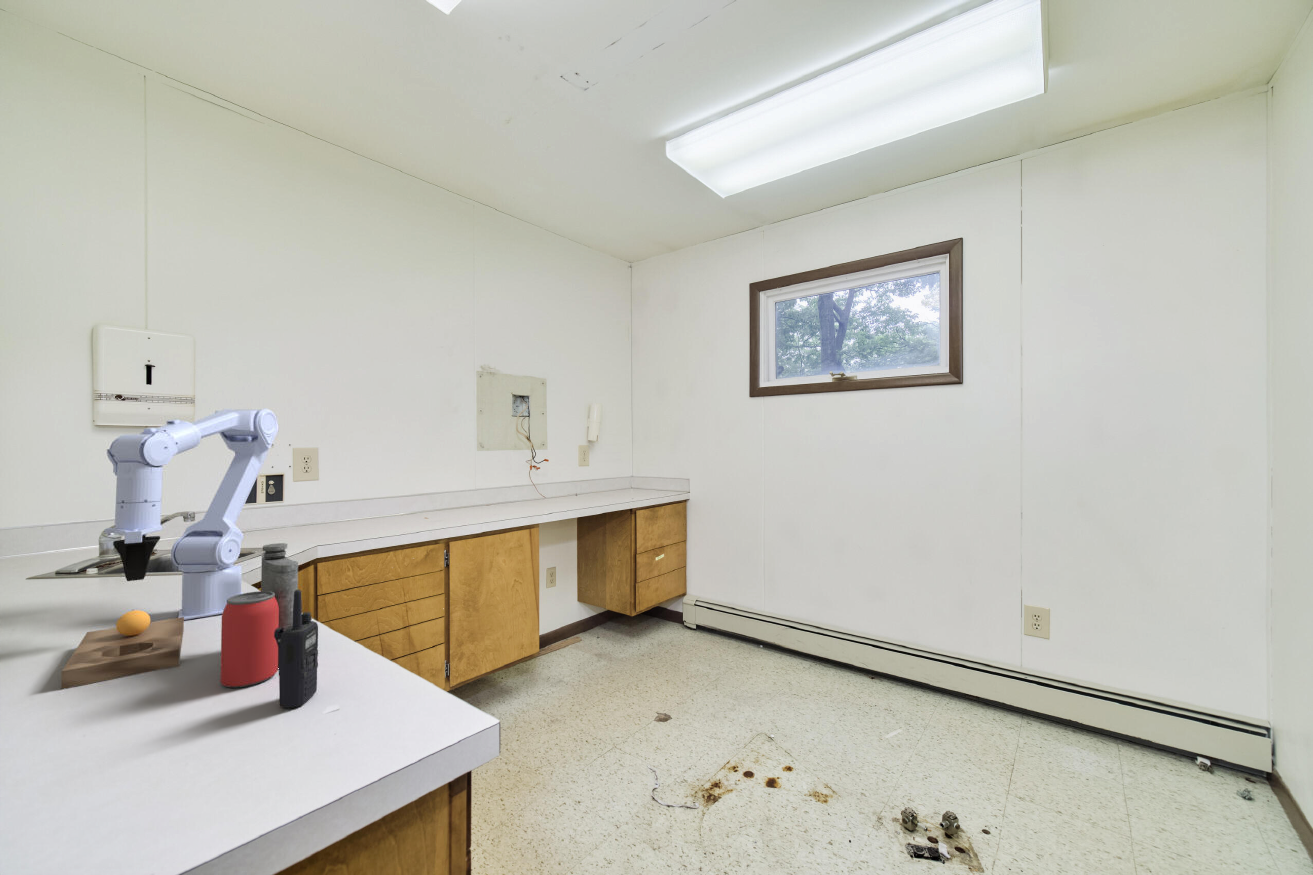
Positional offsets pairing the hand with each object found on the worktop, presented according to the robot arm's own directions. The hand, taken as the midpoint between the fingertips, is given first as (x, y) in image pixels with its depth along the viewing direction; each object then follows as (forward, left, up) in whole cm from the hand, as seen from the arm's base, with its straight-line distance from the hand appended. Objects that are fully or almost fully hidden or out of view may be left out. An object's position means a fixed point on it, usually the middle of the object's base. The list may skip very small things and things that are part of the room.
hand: (135, 579), depth 90 cm
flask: (-18, +24, -11) cm, 32 cm away
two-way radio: (-18, +45, -11) cm, 49 cm away
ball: (0, +7, -6) cm, 9 cm away
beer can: (-14, +33, -11) cm, 37 cm away
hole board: (0, +10, -10) cm, 14 cm away
